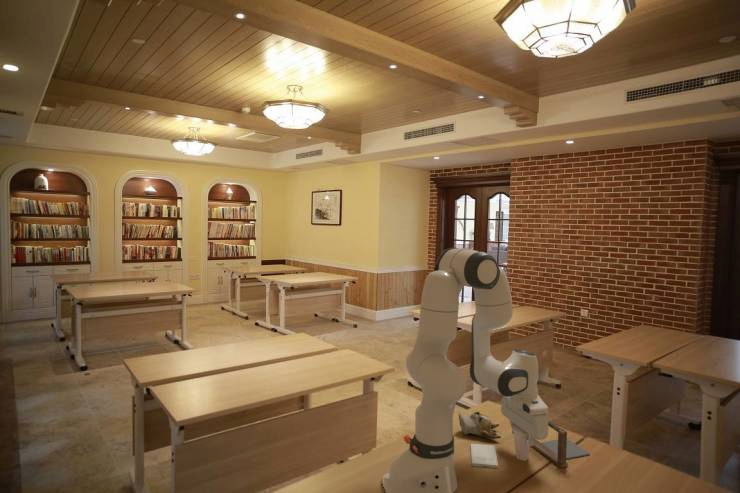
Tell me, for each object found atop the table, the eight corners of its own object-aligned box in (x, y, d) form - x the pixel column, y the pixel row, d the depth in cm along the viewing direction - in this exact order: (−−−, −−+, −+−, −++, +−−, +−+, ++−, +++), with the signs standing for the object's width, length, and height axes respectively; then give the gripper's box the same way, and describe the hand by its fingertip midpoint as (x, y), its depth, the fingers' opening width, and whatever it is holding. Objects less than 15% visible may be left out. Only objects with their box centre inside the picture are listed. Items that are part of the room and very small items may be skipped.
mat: (562, 460, 146) (562, 458, 146) (540, 444, 157) (540, 442, 157) (589, 455, 150) (589, 453, 150) (566, 439, 160) (566, 437, 160)
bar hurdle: (559, 468, 142) (560, 432, 141) (524, 440, 159) (525, 408, 158) (567, 466, 143) (568, 431, 142) (531, 439, 160) (532, 407, 159)
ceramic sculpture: (459, 403, 170) (500, 409, 167) (457, 425, 171) (498, 431, 168) (458, 415, 160) (502, 422, 157) (456, 439, 161) (500, 446, 157)
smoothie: (509, 458, 147) (510, 417, 146) (515, 450, 153) (516, 410, 152) (529, 464, 144) (530, 422, 143) (534, 456, 149) (535, 415, 148)
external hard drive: (494, 450, 154) (498, 470, 142) (470, 447, 156) (471, 467, 143) (495, 445, 154) (498, 465, 142) (470, 443, 156) (471, 462, 143)
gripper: (497, 388, 156) (496, 426, 157) (535, 412, 136) (534, 456, 137) (512, 386, 158) (511, 424, 159) (552, 410, 138) (551, 453, 139)
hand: (522, 439), depth 148 cm, fingers closed on smoothie, 6 cm apart
